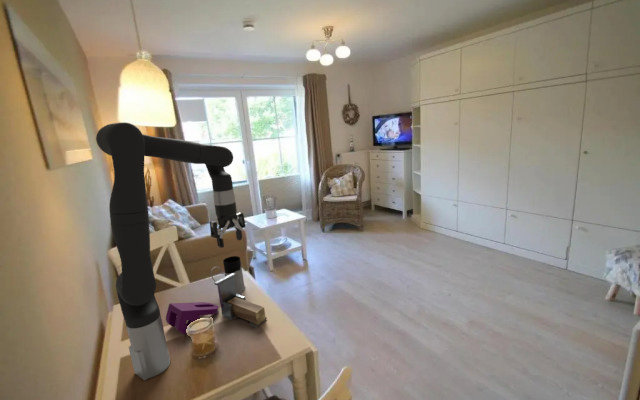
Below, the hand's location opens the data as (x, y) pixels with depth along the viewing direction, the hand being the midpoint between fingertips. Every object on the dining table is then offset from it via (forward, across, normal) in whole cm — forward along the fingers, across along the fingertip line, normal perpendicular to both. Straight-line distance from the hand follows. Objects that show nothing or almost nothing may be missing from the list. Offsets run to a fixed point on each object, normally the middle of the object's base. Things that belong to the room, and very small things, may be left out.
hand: (230, 243), depth 117 cm
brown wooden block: (+29, -1, -5) cm, 29 cm away
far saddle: (+30, -1, -11) cm, 32 cm away
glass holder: (+30, +10, +18) cm, 37 cm away
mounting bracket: (+30, -12, +12) cm, 35 cm away
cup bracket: (+30, -1, +2) cm, 30 cm away
